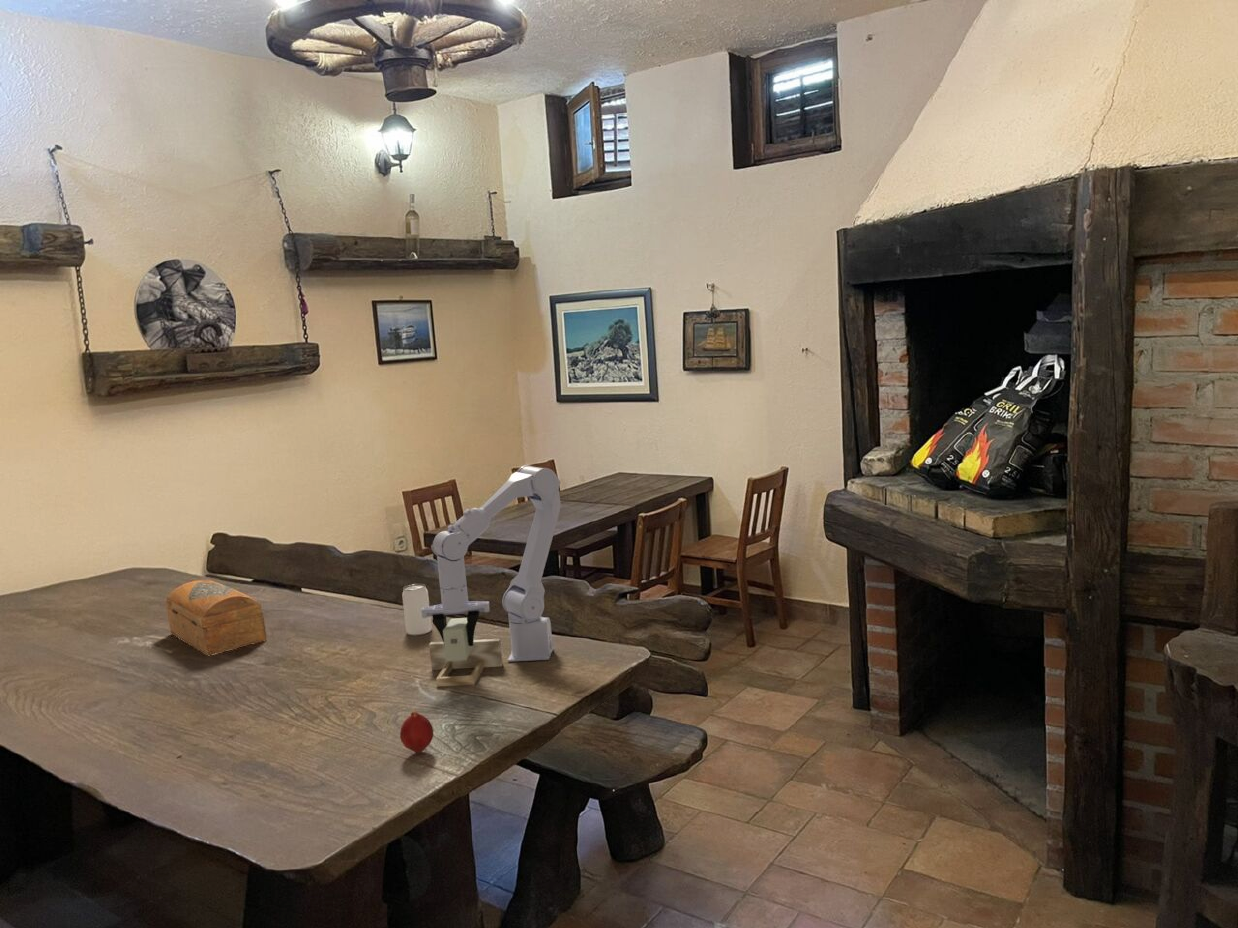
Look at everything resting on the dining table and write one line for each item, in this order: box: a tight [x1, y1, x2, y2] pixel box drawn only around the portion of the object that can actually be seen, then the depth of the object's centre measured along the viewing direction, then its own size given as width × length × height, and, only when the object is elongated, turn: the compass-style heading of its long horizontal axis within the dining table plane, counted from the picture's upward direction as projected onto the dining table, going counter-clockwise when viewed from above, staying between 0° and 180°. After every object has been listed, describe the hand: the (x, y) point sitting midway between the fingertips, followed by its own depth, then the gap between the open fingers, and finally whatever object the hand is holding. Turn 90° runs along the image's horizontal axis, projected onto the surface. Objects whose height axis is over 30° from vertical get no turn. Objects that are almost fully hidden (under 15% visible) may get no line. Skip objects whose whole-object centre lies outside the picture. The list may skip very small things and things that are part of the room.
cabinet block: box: [443, 617, 474, 661], centre depth 198 cm, size 4×8×7 cm, turn 178°
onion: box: [399, 710, 434, 754], centre depth 162 cm, size 6×6×8 cm
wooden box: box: [166, 579, 267, 655], centre depth 240 cm, size 30×16×14 cm, turn 42°
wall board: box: [428, 638, 503, 687], centre depth 199 cm, size 16×12×6 cm
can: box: [401, 583, 433, 636], centre depth 232 cm, size 6×6×12 cm
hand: (459, 645), depth 199 cm, fingers closed on cabinet block, 5 cm apart
